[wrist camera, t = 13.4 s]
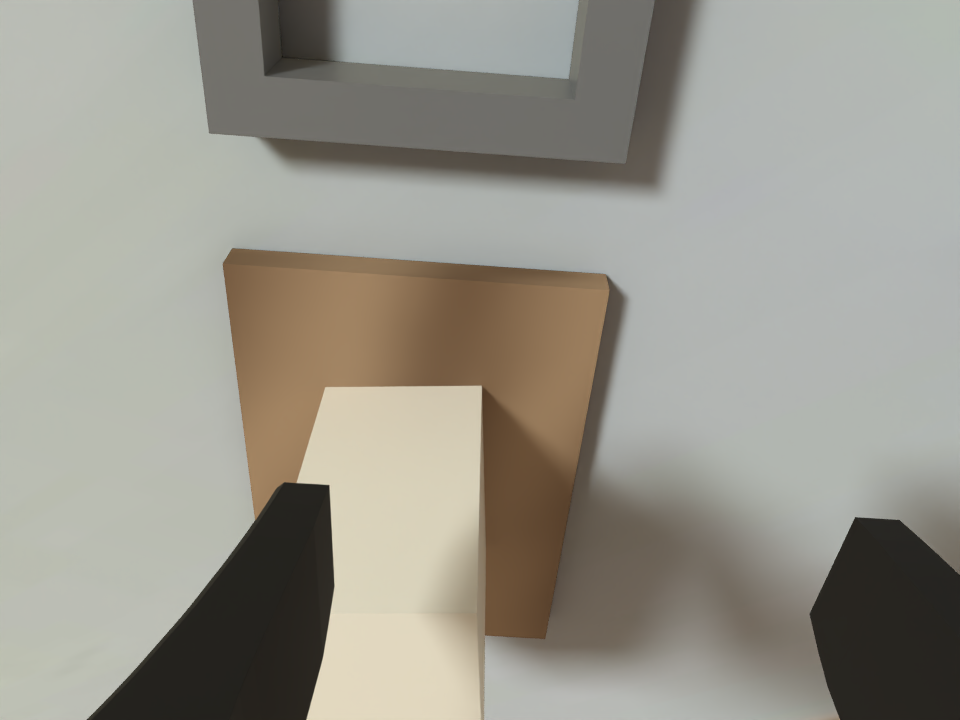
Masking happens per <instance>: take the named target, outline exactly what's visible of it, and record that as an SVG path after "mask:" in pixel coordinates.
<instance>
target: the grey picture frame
mask: <svg viewBox="0 0 960 720" xmlns="http://www.w3.org/2000/svg"><path fill="white" fill-rule="evenodd" d="M654 3H655V0H579V5H578V13H577V21H576V28H575V36H574V44H573V51H572V59H571V67H570V74H569V79H558V78H545V77H532V76H519V75H506V74H492V73H479V72H466V71H453V70H440V69H427V68H414V67H401V66H387V65H374V64H361V63H348V62H335V61H322V60H309V59H295V58H282V52H281V37H280V23H279V8H278V0H193V7H194V15H195V23H196V31H197V39H198V47H199V55H200V63H201V71H202V79H203V87H204V95H205V103H206V111H207V119H208V128H209V133H211V134H224V135H238V136H252V137H265V138H279V139H292V140H306V141H320V142H333V143H347V144H361V145H374V146H388V147H401V148H415V149H429V150H442V151H456V152H470V153H483V154H497V155H510V156H524V157H538V158H551V159H565V160H579V161H592V162H606V163H620V164H626V159H627V153H628V148H629V142H630V137H631V131H632V125H633V120H634V114H635V109H636V103H637V98H638V92H639V86H640V81H641V75H642V70H643V64H644V59H645V53H646V48H647V42H648V36H649V31H650V25H651V20H652V14H653V9H654Z"/></svg>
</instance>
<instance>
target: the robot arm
mask: <svg viewBox="0 0 960 720" xmlns="http://www.w3.org/2000/svg"><path fill="white" fill-rule="evenodd" d="M334 587H335V584H334V565H333V545H332V525H331V505H330V485H322V484H305V483H289V482H284V483H283V484H281V485H280V486H279V487H277V488H276V490H275V491H274V493H273V494H272V496H271V497H270V499H269V501H268V502H267V504H266V505H265V507H264V508H263V510H262V511H261V513H260V514H259V516H258V517H257V519H256V520H255V521H254V523H253V524H252V526H251V527H250V529H249V530H248V531H247V533H246V534H245V536H244V537H243V538H242V540H241V541H240V542H239V544H238V545H237V547H236V548H235V549H234V551H233V552H232V553H231V555H230V556H229V557H228V559H227V560H226V561H225V563H224V564H223V565H222V567H221V568H220V569H219V570H218V572H217V573H216V574H215V575H214V577H213V578H212V579H211V580H210V582H209V583H208V584H207V586H206V587H205V588H204V589H203V591H202V592H201V593H200V594H199V596H198V597H197V598H196V599H195V601H194V602H193V603H192V605H191V606H190V607H189V608H188V609H187V611H186V612H185V613H184V614H183V615H182V617H181V618H180V619H179V620H178V621H177V622H176V624H175V625H174V626H173V627H172V628H171V629H170V630H169V632H168V633H167V634H166V635H165V636H164V637H163V638H162V640H161V641H160V642H159V643H158V644H157V645H156V646H155V648H154V649H153V650H152V651H151V652H150V653H149V654H148V656H147V657H146V658H145V659H144V660H143V661H142V662H141V663H140V665H139V666H138V667H137V668H136V669H135V670H134V671H133V672H132V673H131V675H130V676H129V677H128V678H127V679H126V680H125V681H124V682H123V683H122V684H121V685H120V686H119V687H118V688H117V689H116V690H115V692H114V693H113V694H112V695H111V696H110V697H109V698H108V699H107V700H106V701H105V702H104V703H103V704H102V705H101V706H100V707H99V708H98V709H97V710H96V711H95V712H94V713H93V714H92V715H91V716H90V717H89V718H88V719H87V720H306V719H307V716H308V712H309V708H310V705H311V701H312V697H313V694H314V690H315V686H316V682H317V679H318V675H319V671H320V667H321V664H322V660H323V655H324V649H325V643H326V637H327V631H328V625H329V619H330V613H331V606H332V600H333V593H334ZM810 618H811V622H812V626H813V630H814V635H815V639H816V643H817V648H818V652H819V656H820V660H821V663H822V667H823V671H824V674H825V678H826V682H827V686H828V689H829V691H830V694H831V697H832V699H833V702H834V705H835V707H836V710H837V712H838V715H839V718H840V720H960V575H959V574H958V573H957V572H956V571H955V570H954V569H953V568H952V567H950V566H949V565H948V564H947V563H946V562H945V561H944V560H943V559H942V558H941V557H940V556H939V555H938V554H937V553H935V552H934V551H933V550H932V549H931V548H930V547H929V546H928V545H927V544H926V543H925V542H923V541H922V540H921V539H920V538H919V537H918V536H917V535H916V534H915V533H913V532H912V531H911V530H910V529H909V528H908V527H907V526H905V525H904V524H903V523H902V522H901V521H900V520H889V519H873V518H857V517H855V519H854V521H853V523H852V525H851V528H850V530H849V532H848V534H847V536H846V538H845V540H844V542H843V544H842V547H841V549H840V551H839V553H838V555H837V557H836V559H835V561H834V564H833V566H832V568H831V570H830V572H829V574H828V576H827V578H826V580H825V583H824V585H823V587H822V589H821V591H820V593H819V595H818V597H817V600H816V602H815V604H814V606H813V608H812V610H811V612H810Z"/></svg>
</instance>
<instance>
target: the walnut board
mask: <svg viewBox="0 0 960 720" xmlns="http://www.w3.org/2000/svg"><path fill="white" fill-rule="evenodd" d="M223 270H224V277H225V285H226V293H227V301H228V309H229V317H230V325H231V333H232V341H233V349H234V357H235V364H236V372H237V380H238V388H239V396H240V404H241V412H242V420H243V428H244V436H245V444H246V451H247V459H248V467H249V475H250V483H251V491H252V499H253V507H254V515H255V520H256V519H257V517H258V516H259V514H260V513H261V511H262V510H263V508H264V507H265V505H266V504H267V502H268V501H269V499H270V497H271V496H272V494H273V493H274V491H275V490H276V488H277V487H279V486H280V485H281V484H283V483H284V482H289V483H297V480H298V476H299V473H300V470H301V466H302V463H303V460H304V456H305V453H306V450H307V446H308V443H309V440H310V437H311V433H312V430H313V427H314V423H315V420H316V417H317V413H318V410H319V407H320V403H321V400H322V397H323V393H324V390H325V387H396V386H482V413H483V452H484V492H485V532H486V589H485V635H487V636H505V637H522V638H540V639H545V637H546V632H547V626H548V621H549V615H550V610H551V605H552V599H553V594H554V588H555V583H556V578H557V572H558V567H559V561H560V556H561V551H562V545H563V540H564V534H565V529H566V524H567V518H568V513H569V507H570V502H571V497H572V491H573V486H574V480H575V475H576V470H577V464H578V459H579V453H580V448H581V443H582V437H583V432H584V426H585V421H586V416H587V410H588V405H589V399H590V394H591V389H592V383H593V378H594V372H595V367H596V362H597V356H598V351H599V345H600V340H601V335H602V329H603V324H604V318H605V313H606V308H607V302H608V297H609V291H610V290H609V286H608V282H607V278H606V274H595V273H580V272H566V271H551V270H537V269H523V268H508V267H494V266H479V265H465V264H451V263H436V262H422V261H408V260H393V259H379V258H364V257H350V256H336V255H321V254H307V253H292V252H278V251H264V250H249V249H235V248H232V250H231V251H230V253H229V254H228V256H227V258H226V259H225V261H224V262H223Z"/></svg>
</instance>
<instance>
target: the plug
mask: <svg viewBox="0 0 960 720" xmlns="http://www.w3.org/2000/svg"><path fill="white" fill-rule="evenodd" d="M297 483H305V484H322V485H330V505H331V525H332V545H333V565H334V584H335V587H334V593H333V600H332V606H331V613H330V619H329V625H328V631H327V637H326V643H325V649H324V655H323V660H322V664H321V667H320V671H319V675H318V679H317V682H316V686H315V690H314V694H313V697H312V701H311V705H310V708H309V712H308V716H307V719H306V720H484V679H485V589H486V532H485V492H484V452H483V413H482V386H396V387H325V390H324V393H323V397H322V400H321V403H320V407H319V410H318V413H317V417H316V420H315V423H314V427H313V430H312V433H311V437H310V440H309V443H308V446H307V450H306V453H305V456H304V460H303V463H302V466H301V470H300V473H299V476H298V480H297Z"/></svg>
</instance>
